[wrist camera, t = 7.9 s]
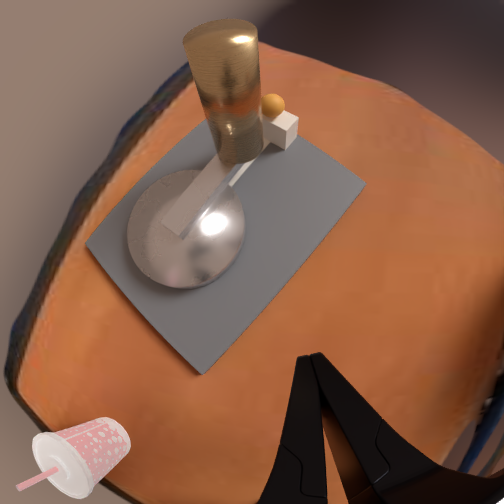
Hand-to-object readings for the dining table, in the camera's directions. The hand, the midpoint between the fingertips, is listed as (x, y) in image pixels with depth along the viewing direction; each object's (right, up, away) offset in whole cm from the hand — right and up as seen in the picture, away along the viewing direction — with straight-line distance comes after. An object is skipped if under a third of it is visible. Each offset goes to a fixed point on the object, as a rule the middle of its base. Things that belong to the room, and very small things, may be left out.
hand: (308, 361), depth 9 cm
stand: (-5, +7, +16) cm, 18 cm away
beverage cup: (-16, -15, +11) cm, 24 cm away
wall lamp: (-6, +8, +15) cm, 18 cm away
